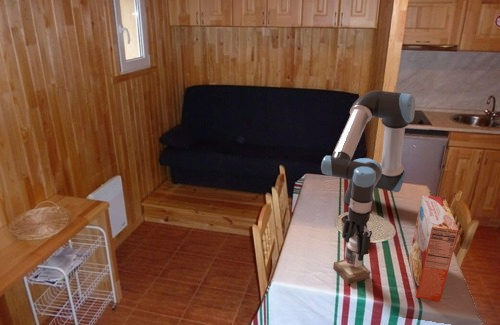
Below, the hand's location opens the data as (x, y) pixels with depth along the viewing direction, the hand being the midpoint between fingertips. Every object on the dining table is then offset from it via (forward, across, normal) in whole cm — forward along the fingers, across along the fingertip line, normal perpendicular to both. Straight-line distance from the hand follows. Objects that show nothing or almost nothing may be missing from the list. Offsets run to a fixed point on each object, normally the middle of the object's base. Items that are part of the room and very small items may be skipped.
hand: (352, 260), depth 149 cm
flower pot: (+6, -21, +14) cm, 26 cm away
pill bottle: (+1, 0, 0) cm, 1 cm away
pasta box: (+6, +13, +24) cm, 28 cm away
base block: (+6, 0, 0) cm, 6 cm away
